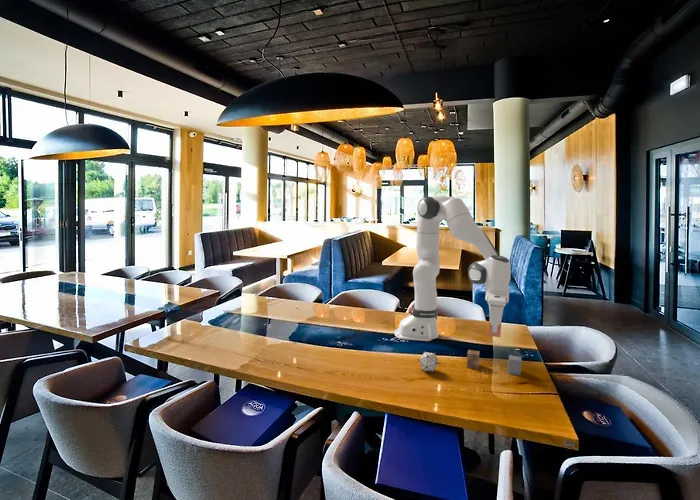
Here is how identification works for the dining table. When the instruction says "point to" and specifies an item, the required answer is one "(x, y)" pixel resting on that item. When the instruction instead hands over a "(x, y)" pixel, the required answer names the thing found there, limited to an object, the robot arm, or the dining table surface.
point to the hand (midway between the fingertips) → (494, 329)
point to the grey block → (514, 365)
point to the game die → (428, 361)
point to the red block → (494, 332)
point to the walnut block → (473, 359)
